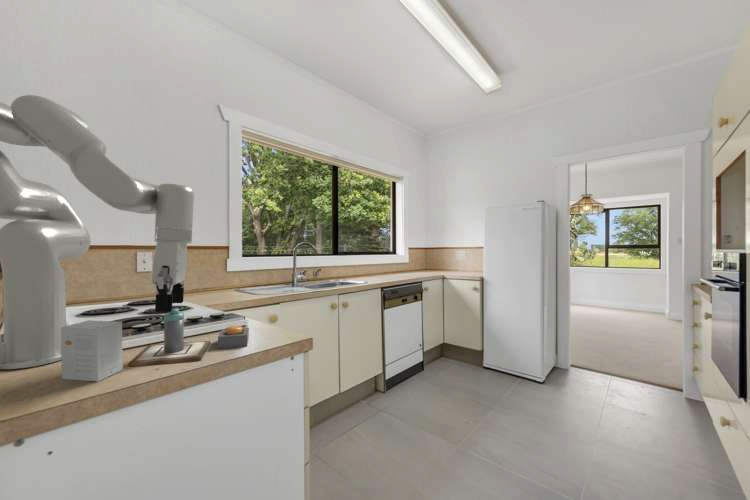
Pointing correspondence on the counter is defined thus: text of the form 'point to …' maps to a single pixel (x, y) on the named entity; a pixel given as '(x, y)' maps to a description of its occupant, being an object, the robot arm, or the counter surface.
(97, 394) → the counter surface
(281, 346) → the counter surface
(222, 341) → the button housing
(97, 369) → the small box
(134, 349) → the counter surface
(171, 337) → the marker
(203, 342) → the wooden picture frame
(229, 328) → the button
